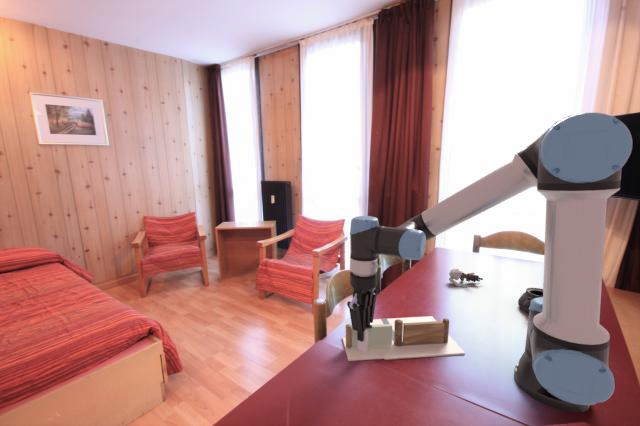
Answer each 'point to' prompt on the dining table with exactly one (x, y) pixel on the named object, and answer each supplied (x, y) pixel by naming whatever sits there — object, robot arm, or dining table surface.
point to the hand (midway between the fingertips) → (362, 348)
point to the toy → (462, 277)
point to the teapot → (529, 297)
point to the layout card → (404, 350)
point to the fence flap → (370, 335)
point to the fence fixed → (421, 332)
